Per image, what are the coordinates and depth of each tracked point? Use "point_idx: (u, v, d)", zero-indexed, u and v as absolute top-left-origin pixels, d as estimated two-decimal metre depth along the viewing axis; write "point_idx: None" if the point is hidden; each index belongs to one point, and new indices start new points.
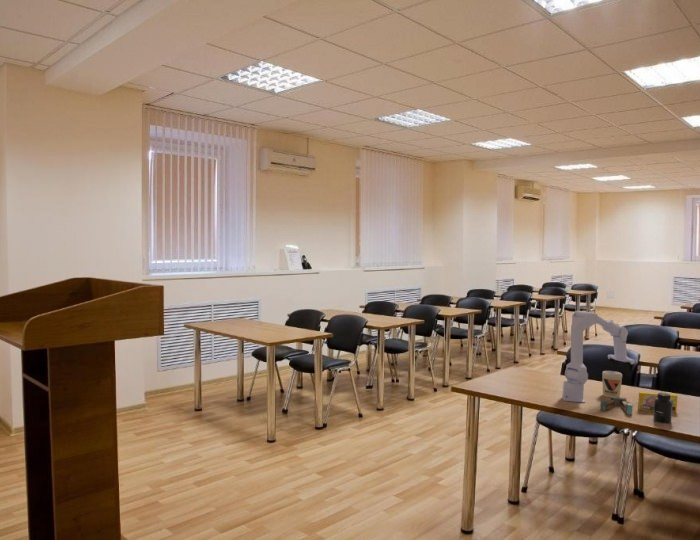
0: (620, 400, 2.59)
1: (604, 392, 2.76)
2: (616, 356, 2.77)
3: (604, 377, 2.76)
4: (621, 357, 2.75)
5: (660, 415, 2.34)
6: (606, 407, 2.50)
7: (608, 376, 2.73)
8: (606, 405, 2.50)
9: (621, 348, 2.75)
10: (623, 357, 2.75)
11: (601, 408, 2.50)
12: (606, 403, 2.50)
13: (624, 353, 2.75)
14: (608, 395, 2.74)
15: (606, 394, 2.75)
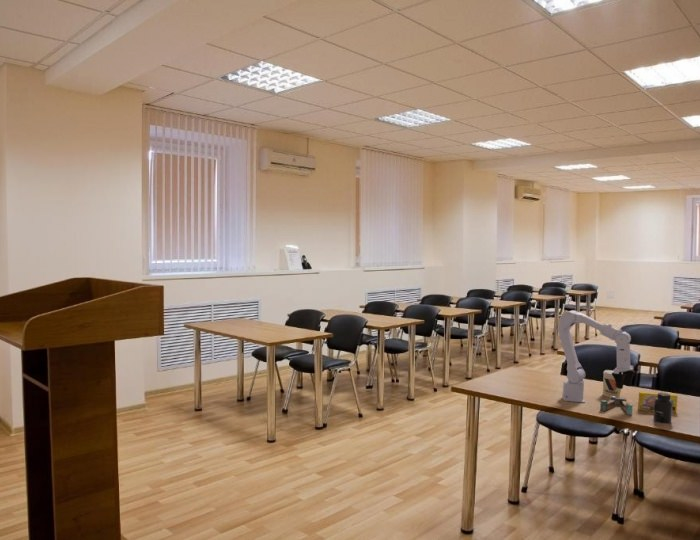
0: (620, 400, 2.59)
1: (604, 391, 2.76)
2: None
3: (605, 377, 2.75)
4: (617, 365, 2.53)
5: (660, 415, 2.34)
6: (606, 407, 2.50)
7: (609, 376, 2.73)
8: (606, 405, 2.50)
9: (618, 356, 2.52)
10: (618, 366, 2.52)
11: (601, 408, 2.50)
12: (606, 403, 2.50)
13: (619, 362, 2.51)
14: (608, 395, 2.74)
15: (606, 394, 2.75)
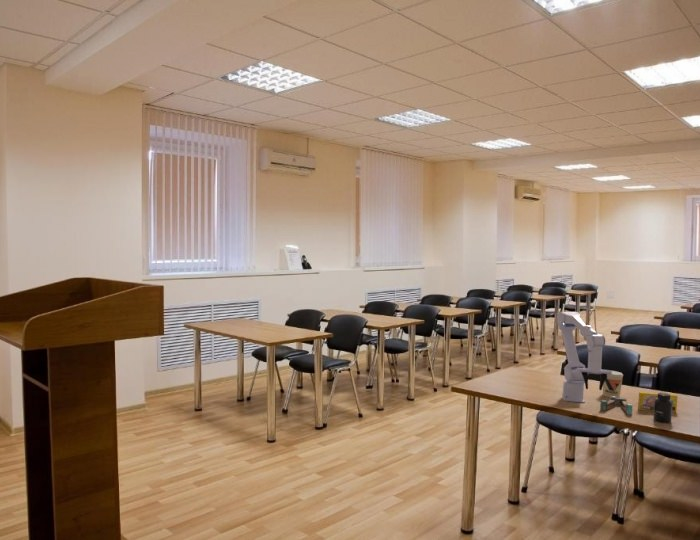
0: (620, 400, 2.59)
1: (604, 392, 2.76)
2: None
3: None
4: None
5: (660, 415, 2.34)
6: (606, 407, 2.50)
7: (609, 376, 2.73)
8: (606, 405, 2.50)
9: (588, 357, 2.52)
10: None
11: (601, 408, 2.50)
12: (606, 403, 2.50)
13: (588, 363, 2.52)
14: (608, 395, 2.74)
15: (606, 394, 2.75)
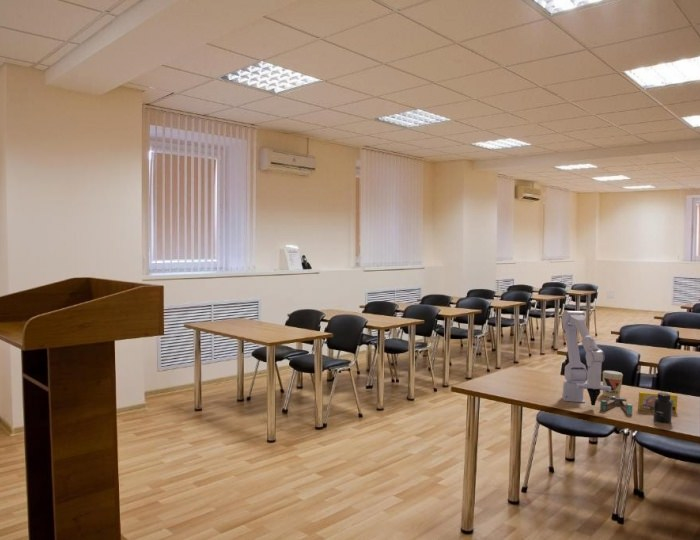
0: (620, 400, 2.59)
1: (604, 392, 2.76)
2: None
3: (605, 377, 2.75)
4: None
5: (660, 415, 2.34)
6: (606, 407, 2.50)
7: (609, 376, 2.73)
8: (606, 405, 2.50)
9: None
10: None
11: (601, 408, 2.50)
12: (606, 403, 2.50)
13: (587, 378, 2.52)
14: (609, 395, 2.74)
15: (607, 394, 2.75)
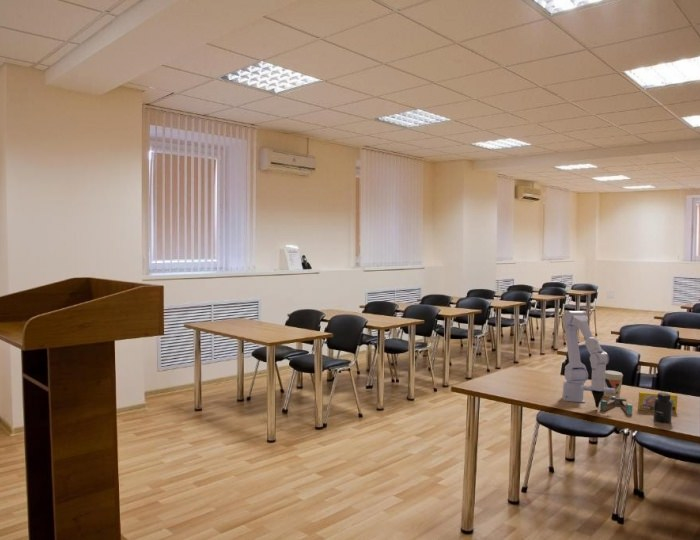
0: (620, 400, 2.59)
1: (605, 392, 2.76)
2: None
3: (605, 377, 2.75)
4: None
5: (660, 415, 2.34)
6: (606, 407, 2.50)
7: (609, 376, 2.73)
8: (606, 405, 2.50)
9: None
10: None
11: (601, 408, 2.50)
12: (606, 403, 2.50)
13: None
14: (609, 395, 2.74)
15: (607, 394, 2.75)
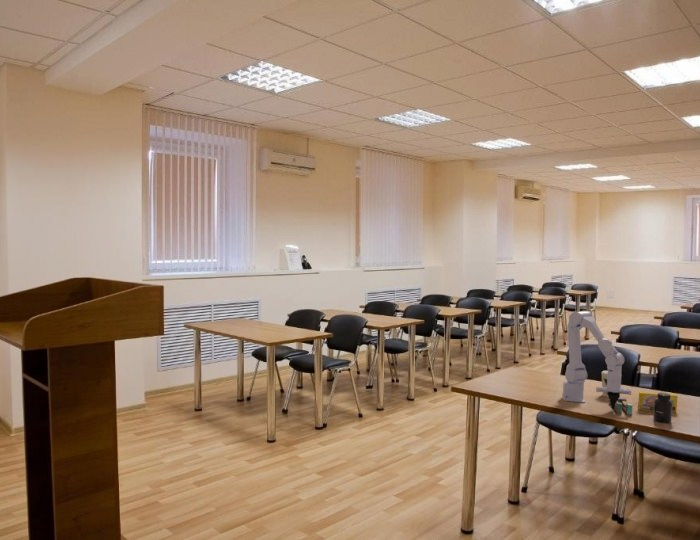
0: (620, 400, 2.59)
1: (605, 392, 2.76)
2: None
3: (604, 377, 2.75)
4: None
5: (660, 415, 2.34)
6: None
7: None
8: None
9: (607, 376, 2.49)
10: None
11: (618, 411, 2.46)
12: None
13: (607, 382, 2.50)
14: None
15: (607, 394, 2.75)
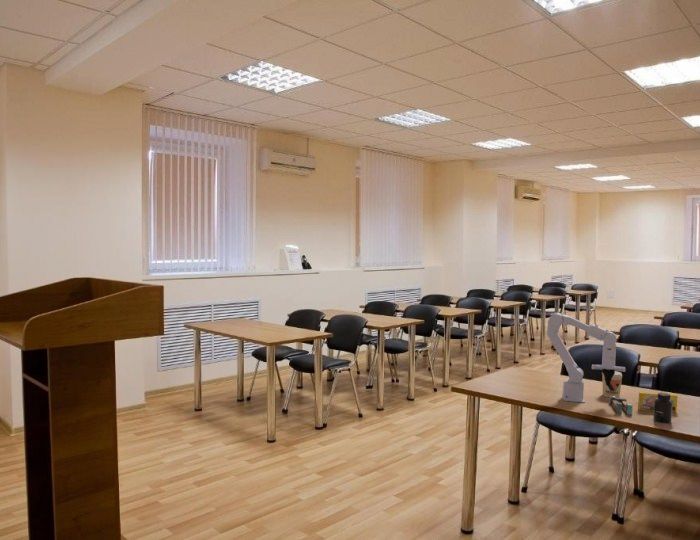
0: (620, 400, 2.59)
1: (605, 392, 2.75)
2: None
3: None
4: None
5: (660, 415, 2.34)
6: None
7: None
8: None
9: (605, 355, 2.58)
10: None
11: (618, 411, 2.46)
12: None
13: (602, 359, 2.61)
14: (609, 395, 2.74)
15: (607, 394, 2.74)
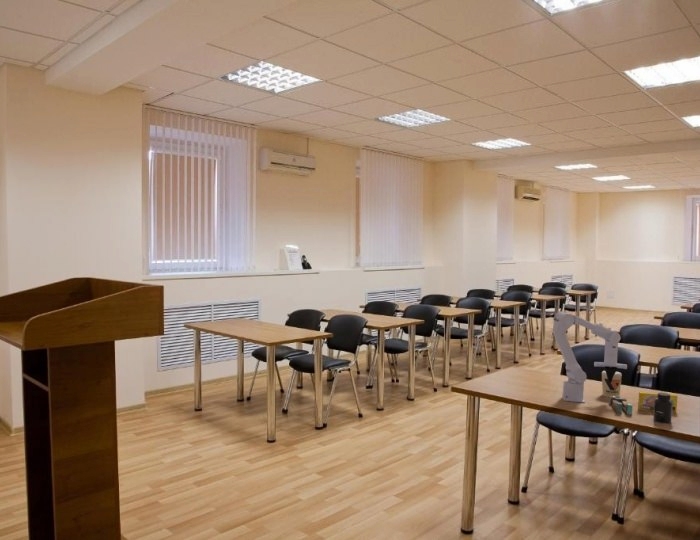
0: (620, 400, 2.59)
1: (605, 392, 2.75)
2: None
3: (605, 377, 2.75)
4: None
5: (660, 415, 2.34)
6: None
7: None
8: None
9: (609, 353, 2.64)
10: None
11: (618, 411, 2.46)
12: None
13: (604, 357, 2.67)
14: (610, 395, 2.74)
15: (607, 394, 2.74)
